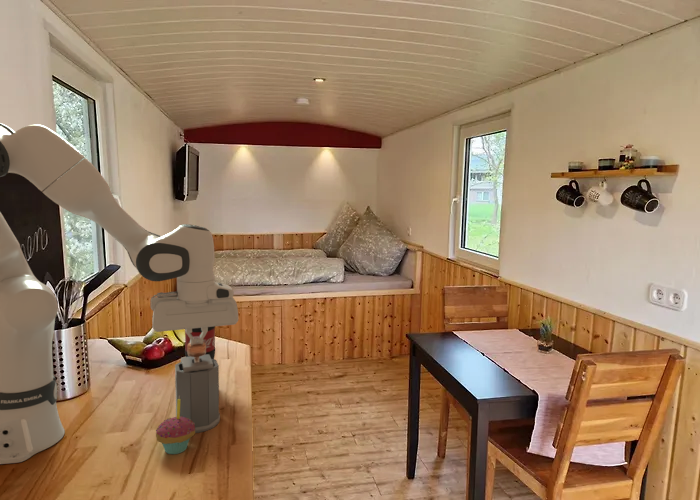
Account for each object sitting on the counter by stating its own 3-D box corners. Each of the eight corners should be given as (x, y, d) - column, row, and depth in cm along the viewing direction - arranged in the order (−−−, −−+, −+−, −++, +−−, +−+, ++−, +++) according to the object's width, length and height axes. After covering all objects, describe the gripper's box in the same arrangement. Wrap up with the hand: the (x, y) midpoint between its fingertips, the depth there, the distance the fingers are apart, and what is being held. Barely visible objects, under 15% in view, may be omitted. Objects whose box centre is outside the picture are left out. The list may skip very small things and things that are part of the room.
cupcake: (166, 437, 111) (165, 390, 109) (201, 439, 110) (200, 392, 109) (149, 458, 102) (148, 407, 100) (187, 460, 102) (186, 409, 100)
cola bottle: (206, 398, 131) (205, 295, 127) (179, 395, 133) (177, 293, 128) (220, 386, 139) (220, 289, 135) (195, 383, 141) (194, 286, 137)
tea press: (176, 436, 111) (175, 371, 109) (172, 410, 124) (171, 351, 121) (223, 428, 116) (222, 365, 114) (214, 403, 128) (214, 346, 126)
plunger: (183, 424, 113) (182, 351, 111) (181, 411, 120) (180, 341, 117) (214, 419, 116) (213, 347, 114) (209, 406, 123) (209, 338, 120)
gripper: (150, 296, 106) (152, 353, 108) (239, 290, 115) (239, 343, 117) (149, 290, 112) (151, 344, 114) (234, 285, 121) (234, 336, 123)
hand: (196, 344), depth 116 cm, fingers closed, pressing on plunger
